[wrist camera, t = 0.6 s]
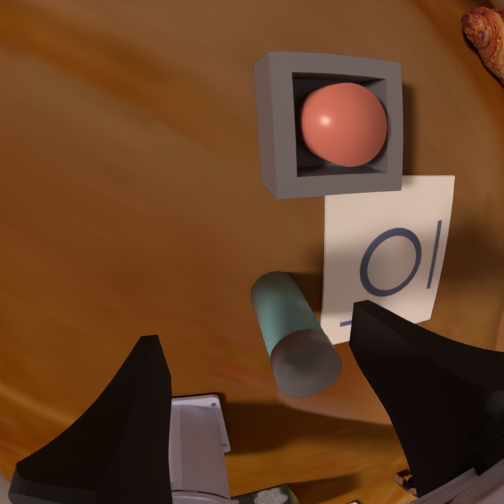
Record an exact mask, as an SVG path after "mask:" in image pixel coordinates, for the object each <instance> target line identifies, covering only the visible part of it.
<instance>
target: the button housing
mask: <svg viewBox="0 0 504 504" xmlns="http://www.w3.org/2000/svg"><path fill="white" fill-rule="evenodd" d="M253 68H254V82H255V96H256V111H257V126H258V142H259V158H260V174H261V184H262V185H263V186H264V187H265V188H266V189H267V190H268V191H269V192H270V193H271V194H272V195H273V196H274V197H275V198H276V199H277V200H280V199H291V198H302V197H314V196H326V195H340V194H354V193H369V192H387V191H401V188H402V167H403V100H402V79H401V65H400V63H396V62H390V61H384V60H378V59H371V58H363V57H355V56H346V55H336V54H324V53H307V52H267V53H266V54H265V55H264V56H263V57H262V58H261V59H260V60H259V61H258V62H257V63H256V64H255V65H254V66H253ZM340 83H354V84H357V85H360V86H363V87H365V88H366V89H368V90H369V91H370V92H372V93H373V94H374V95H375V96H376V97H377V99H378V100H379V101H380V103H381V105H382V107H383V109H384V112H385V115H386V120H387V133H386V138H385V142H384V144H383V146H382V148H381V150H380V151H379V153H378V154H377V155H376V156H375V157H374V158H373V159H372V160H370V161H369V162H367V163H365V164H363V165H360V166H354V167H346V166H341V165H338V164H335V163H332V162H330V161H327V160H324V159H321V158H318V157H316V156H314V155H312V154H311V153H309V152H308V151H307V150H306V149H305V148H304V147H303V146H302V144H301V143H300V141H299V140H298V138H297V135H296V132H295V118H294V116H295V111H296V108H297V106H298V104H299V102H300V101H301V99H302V98H303V97H304V96H305V95H306V94H307V93H309V92H310V91H312V90H314V89H317V88H320V87H325V86H330V85H334V84H340Z"/></svg>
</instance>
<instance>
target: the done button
mask: <svg viewBox="0 0 504 504" xmlns="http://www.w3.org/2000/svg"><path fill="white" fill-rule="evenodd" d="M294 118H295V132H296V135H297V138H298V140H299V141H300V143H301V144H302V146H303V147H304V148H305V149H306V150H307V151H308V152H309V153H311V154H312V155H314V156H316V157H318V158H321V159H324V160H327V161H330V162H332V163H335V164H338V165H341V166H346V167H354V166H360V165H363V164H365V163H367V162H369V161H370V160H372V159H373V158H374V157H375V156H376V155H377V154H378V153H379V151H380V150H381V148H382V146H383V144H384V142H385V138H386V133H387V120H386V115H385V112H384V109H383V107H382V105H381V103H380V101H379V100H378V99H377V97H376V96H375V95H374V94H373V93H372V92H370V91H369V90H368V89H366V88H365V87H363V86H360V85H357V84H354V83H340V84H334V85H330V86H325V87H320V88H317V89H314V90H312V91H310V92H309V93H307V94H306V95H305V96H304V97H303V98H302V99H301V101H300V102H299V104H298V106H297V108H296V111H295V116H294Z"/></svg>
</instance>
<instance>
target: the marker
mask: <svg viewBox="0 0 504 504" xmlns="http://www.w3.org/2000/svg"><path fill="white" fill-rule="evenodd" d="M251 299H252V302H253V306H254V309H255V312H256V315H257V319H258V322H259V325H260V328H261V331H262V335H263V338H264V341H265V344H266V347H267V351H268V354H269V357H270V363H271V367H272V370H273V373H274V376H275V379H276V382H277V386H278V388H279V390H280V391H281V392H282V393H284V394H285V395H288V396H291V397H308V396H312V395H314V394H317V393H320V392H322V391H323V390H325V389H327V388H328V387H329V386H331V385H332V384H333V383H334V382H335V381H336V379H337V378H338V376H339V375H340V372H341V369H342V361H341V359H340V357H339V355H338V354H337V352H336V350H335V348H334V346H333V345H332V343H331V341H330V339H329V338H328V336H327V335H326V334H325V333H324V331H323V329H322V327H321V326H320V324H319V322H318V320H317V319H316V317H315V315H314V313H313V312H312V310H311V308H310V306H309V305H308V303H307V301H306V299H305V298H304V296H303V294H302V293H301V291H300V289H299V287H298V286H297V284H296V282H295V281H294V279H293V278H292V277H291V276H290V275H288V274H286V273H284V272H270V273H267V274H265V275H263V276H261V277H260V278H259V279H258V280H257V281H256V282H255V283H254V285H253V287H252V290H251Z"/></svg>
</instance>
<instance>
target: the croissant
mask: <svg viewBox="0 0 504 504" xmlns="http://www.w3.org/2000/svg"><path fill="white" fill-rule="evenodd" d="M461 22H462V28H464V33H465V34H466V36H467V38H468V39H469V40H470V41H471V42H472V43H473V45H474V46H475V47H476V48H477V50H478V53H479V55H480V58H481V59H482V61H483V62H484V65H485V66H486V67H487V68H488V69H489V70H490V71H491V72H492V73H493V74H495V75H496V76H497V77H498V78H499V79H500V80H501V83H502V84H503V86H504V8H501V9H500V8H499V9H488V8H486V7H477V8H475V9H473V10H472V11H470V12H466V13H465V14H464V15H463V16H462V18H461Z"/></svg>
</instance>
